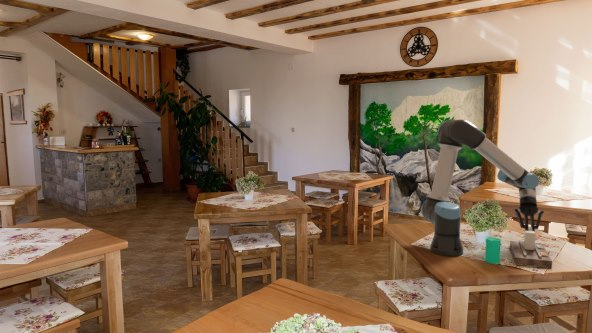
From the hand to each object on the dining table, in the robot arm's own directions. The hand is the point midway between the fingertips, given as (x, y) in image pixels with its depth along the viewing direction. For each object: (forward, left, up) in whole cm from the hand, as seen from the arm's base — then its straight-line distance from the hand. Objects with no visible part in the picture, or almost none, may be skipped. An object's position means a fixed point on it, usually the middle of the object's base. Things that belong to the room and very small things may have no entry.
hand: (530, 240), depth 196 cm
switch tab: (-1, -3, -3) cm, 5 cm away
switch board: (-1, -5, -6) cm, 8 cm away
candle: (-17, -19, -7) cm, 26 cm away
